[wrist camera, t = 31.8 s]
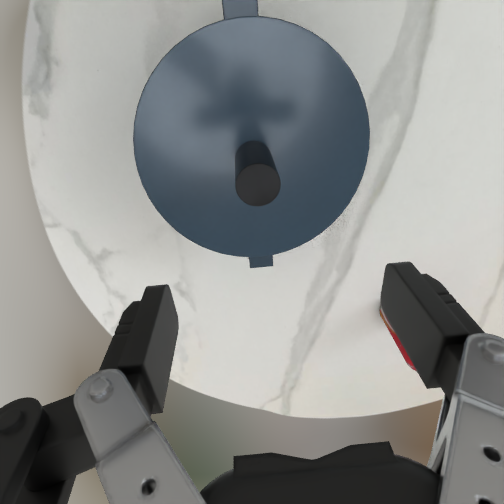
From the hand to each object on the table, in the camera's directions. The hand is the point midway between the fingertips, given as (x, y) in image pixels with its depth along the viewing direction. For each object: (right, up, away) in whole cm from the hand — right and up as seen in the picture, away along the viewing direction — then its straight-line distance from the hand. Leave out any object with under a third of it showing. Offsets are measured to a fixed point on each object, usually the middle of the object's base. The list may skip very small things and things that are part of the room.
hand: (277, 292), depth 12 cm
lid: (-1, +9, +15) cm, 18 cm away
